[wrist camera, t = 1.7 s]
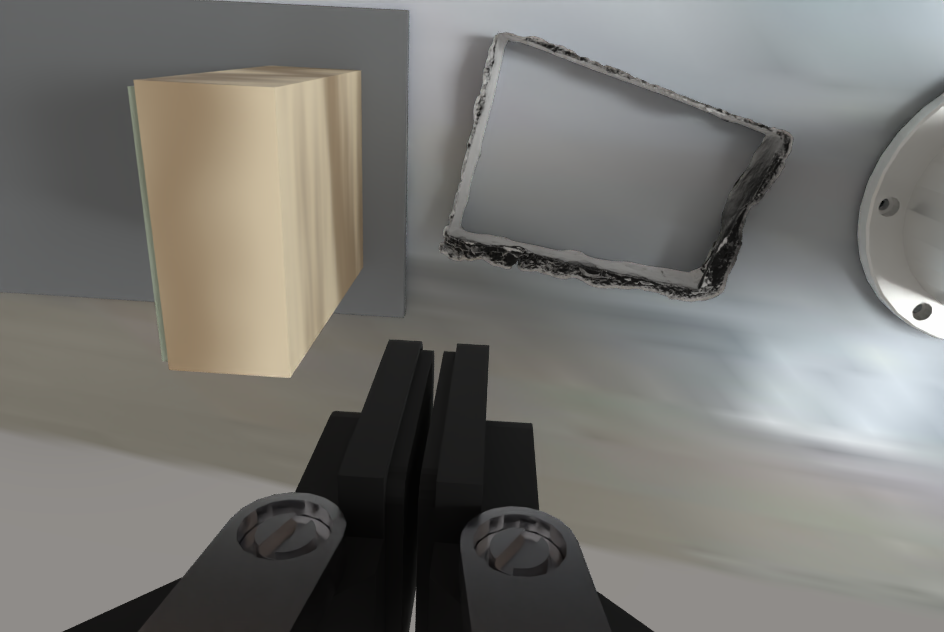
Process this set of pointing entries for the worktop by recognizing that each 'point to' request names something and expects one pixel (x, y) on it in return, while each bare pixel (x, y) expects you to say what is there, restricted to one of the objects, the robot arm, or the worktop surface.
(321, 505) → the robot arm
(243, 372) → the maple plaque
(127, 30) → the rubber mat
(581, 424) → the worktop surface
